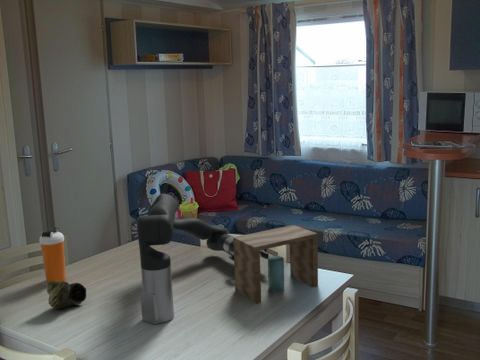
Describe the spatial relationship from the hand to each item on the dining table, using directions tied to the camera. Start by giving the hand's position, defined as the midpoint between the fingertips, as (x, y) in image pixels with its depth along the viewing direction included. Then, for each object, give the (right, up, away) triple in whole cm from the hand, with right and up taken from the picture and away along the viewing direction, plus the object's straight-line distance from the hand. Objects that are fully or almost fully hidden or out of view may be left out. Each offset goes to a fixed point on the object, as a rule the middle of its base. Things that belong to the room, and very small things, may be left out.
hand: (258, 258), depth 197 cm
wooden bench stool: (+6, -9, -9) cm, 14 cm away
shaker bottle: (-78, -10, +7) cm, 79 cm away
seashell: (-65, -14, -19) cm, 69 cm away
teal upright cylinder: (+6, -9, -9) cm, 14 cm away
